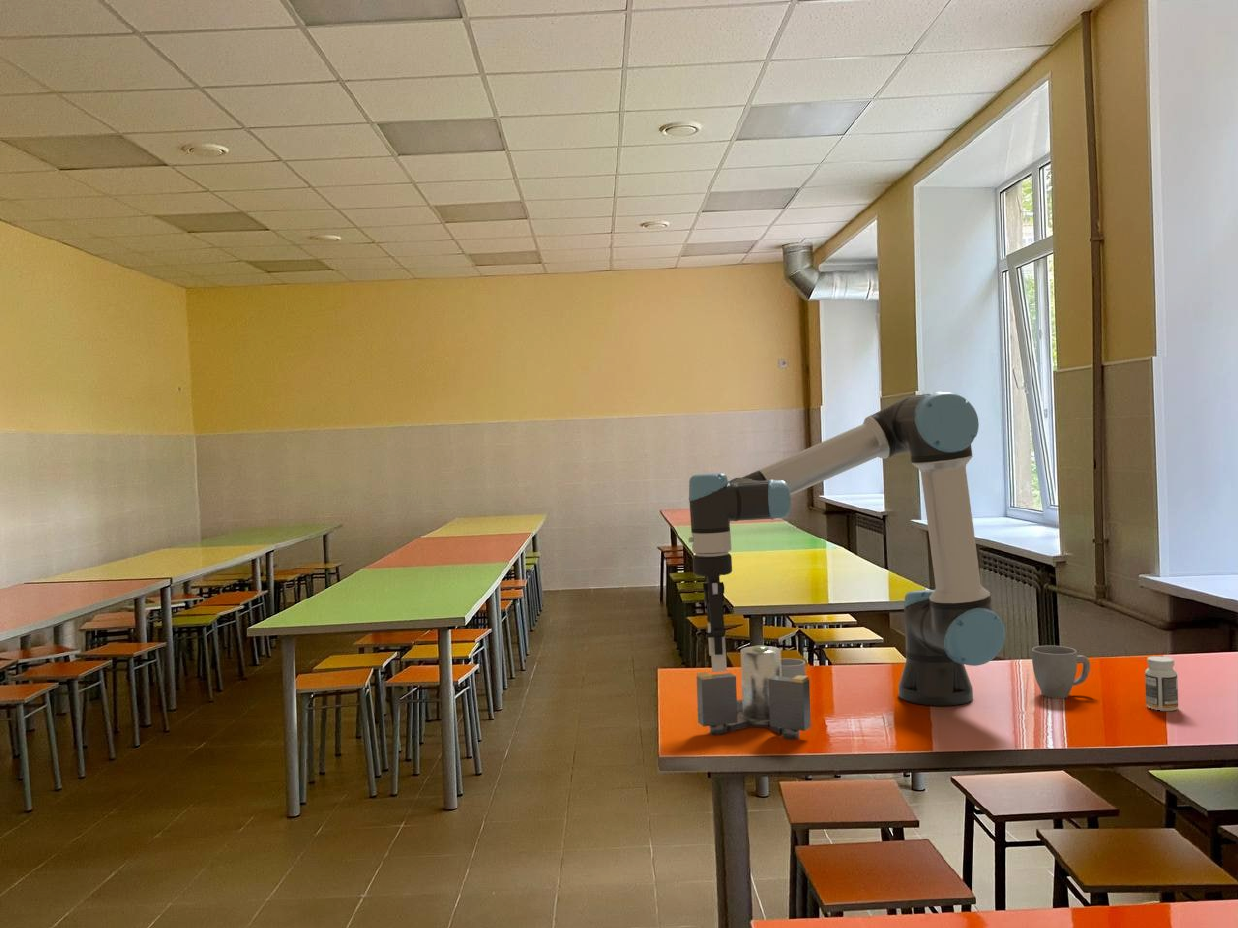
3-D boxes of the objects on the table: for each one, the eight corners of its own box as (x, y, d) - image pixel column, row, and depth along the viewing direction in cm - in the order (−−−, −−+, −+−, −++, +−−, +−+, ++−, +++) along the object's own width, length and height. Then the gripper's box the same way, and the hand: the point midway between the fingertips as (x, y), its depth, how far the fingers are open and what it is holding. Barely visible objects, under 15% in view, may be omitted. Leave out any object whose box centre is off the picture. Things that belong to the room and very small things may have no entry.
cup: (808, 708, 207) (807, 665, 206) (760, 709, 207) (758, 666, 207) (804, 699, 214) (802, 658, 214) (757, 700, 214) (756, 659, 214)
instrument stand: (800, 713, 203) (798, 641, 203) (790, 735, 188) (787, 658, 188) (736, 710, 207) (734, 639, 207) (720, 731, 192) (718, 655, 192)
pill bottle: (1177, 705, 198) (1175, 656, 198) (1179, 713, 193) (1178, 662, 193) (1144, 703, 201) (1143, 655, 201) (1146, 710, 196) (1145, 661, 195)
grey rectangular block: (770, 736, 188) (768, 676, 187) (777, 732, 190) (775, 672, 190) (804, 741, 184) (802, 679, 184) (811, 737, 187) (809, 676, 186)
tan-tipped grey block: (732, 728, 194) (730, 669, 194) (738, 733, 191) (736, 673, 191) (698, 732, 192) (696, 673, 192) (703, 737, 189) (701, 676, 189)
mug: (1045, 701, 205) (1043, 655, 205) (1025, 690, 214) (1024, 646, 214) (1101, 698, 206) (1100, 652, 205) (1079, 688, 214) (1078, 643, 214)
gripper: (691, 547, 203) (696, 649, 204) (693, 562, 178) (700, 679, 179) (727, 545, 203) (733, 648, 203) (735, 560, 178) (741, 677, 179)
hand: (717, 663), depth 191 cm, fingers open, 13 cm apart
